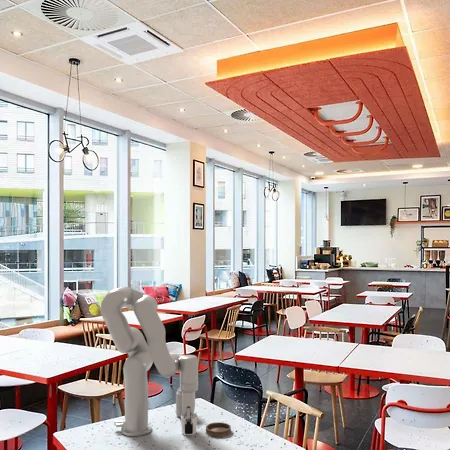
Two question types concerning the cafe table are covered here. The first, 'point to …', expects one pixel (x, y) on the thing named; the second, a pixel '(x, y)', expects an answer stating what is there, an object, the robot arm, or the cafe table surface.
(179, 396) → the can
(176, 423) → the cafe table surface
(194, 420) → the white tapered cylinder
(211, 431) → the round bowl
